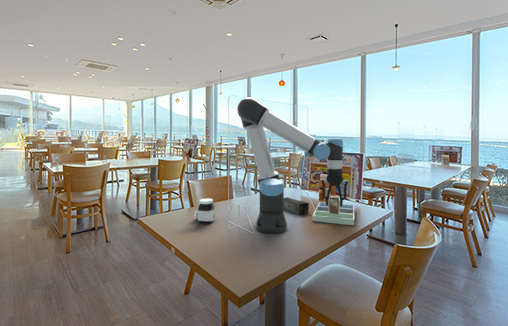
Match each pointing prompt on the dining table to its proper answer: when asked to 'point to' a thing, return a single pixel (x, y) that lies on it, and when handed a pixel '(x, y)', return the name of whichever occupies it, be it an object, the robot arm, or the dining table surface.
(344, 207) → the grey tray
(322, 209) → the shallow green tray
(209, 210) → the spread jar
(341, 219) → the pale green tray
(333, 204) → the letter block
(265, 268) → the dining table surface
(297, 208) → the beverage carton
